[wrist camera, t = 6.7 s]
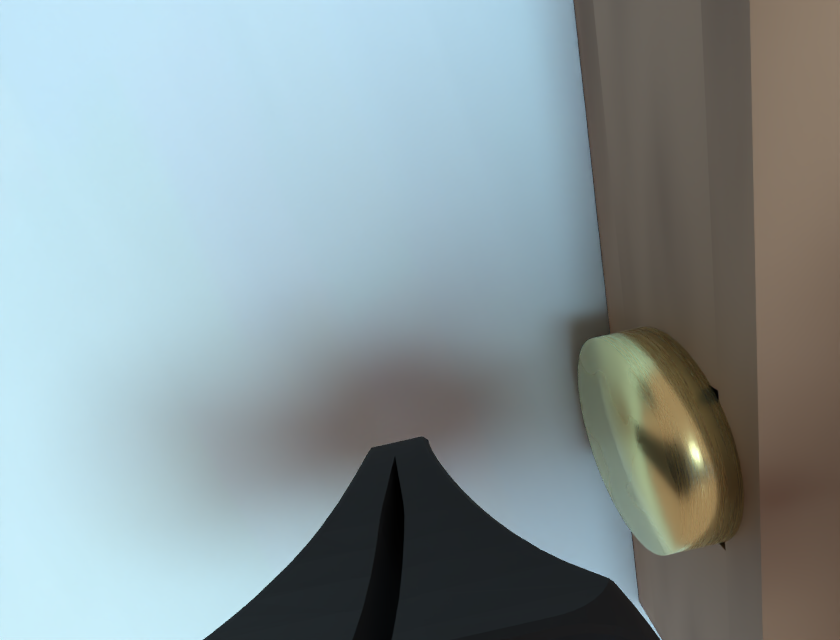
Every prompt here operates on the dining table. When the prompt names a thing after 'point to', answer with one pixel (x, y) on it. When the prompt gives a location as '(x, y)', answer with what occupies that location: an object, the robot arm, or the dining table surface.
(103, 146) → the dining table surface
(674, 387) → the steel pin
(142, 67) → the dining table surface
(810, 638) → the drawbar beam
